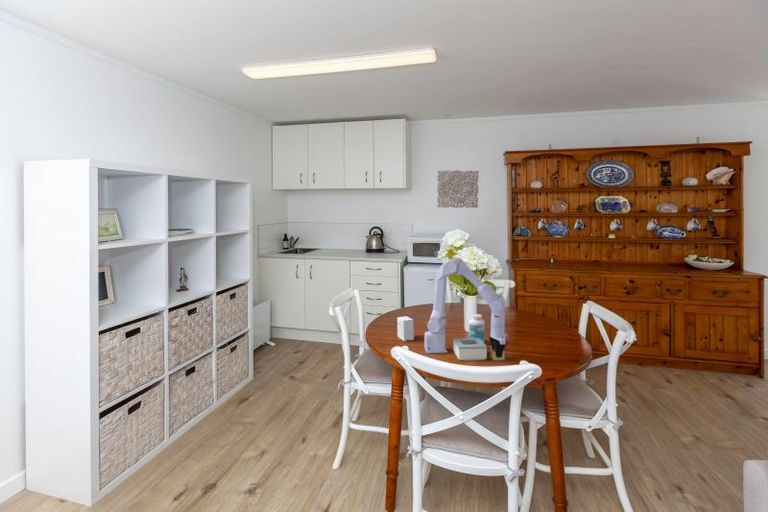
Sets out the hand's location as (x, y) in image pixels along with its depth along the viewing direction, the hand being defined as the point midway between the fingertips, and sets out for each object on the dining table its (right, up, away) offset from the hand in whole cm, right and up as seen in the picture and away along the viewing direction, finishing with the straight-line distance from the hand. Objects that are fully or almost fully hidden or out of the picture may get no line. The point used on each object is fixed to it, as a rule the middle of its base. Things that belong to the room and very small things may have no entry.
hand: (497, 355), depth 182 cm
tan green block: (0, -1, 0) cm, 1 cm away
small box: (-38, +1, +31) cm, 49 cm away
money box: (-11, -1, +5) cm, 12 cm away
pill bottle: (-4, +1, +23) cm, 23 cm away
